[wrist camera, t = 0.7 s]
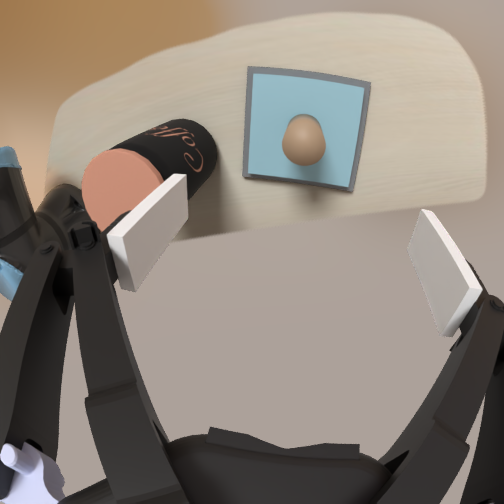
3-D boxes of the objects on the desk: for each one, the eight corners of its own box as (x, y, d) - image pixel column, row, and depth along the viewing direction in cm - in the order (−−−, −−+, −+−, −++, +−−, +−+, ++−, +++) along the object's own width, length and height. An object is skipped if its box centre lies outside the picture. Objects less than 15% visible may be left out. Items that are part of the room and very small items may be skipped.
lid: (249, 170, 40) (233, 199, 32) (254, 73, 32) (237, 72, 24) (347, 184, 39) (357, 216, 30) (362, 87, 31) (381, 91, 22)
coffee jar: (234, 149, 40) (188, 199, 25) (191, 196, 45) (138, 263, 31) (179, 103, 37) (104, 128, 22) (143, 155, 42) (70, 204, 28)
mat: (243, 174, 42) (242, 176, 41) (248, 66, 32) (247, 66, 32) (351, 189, 40) (352, 191, 39) (369, 82, 31) (370, 82, 30)
